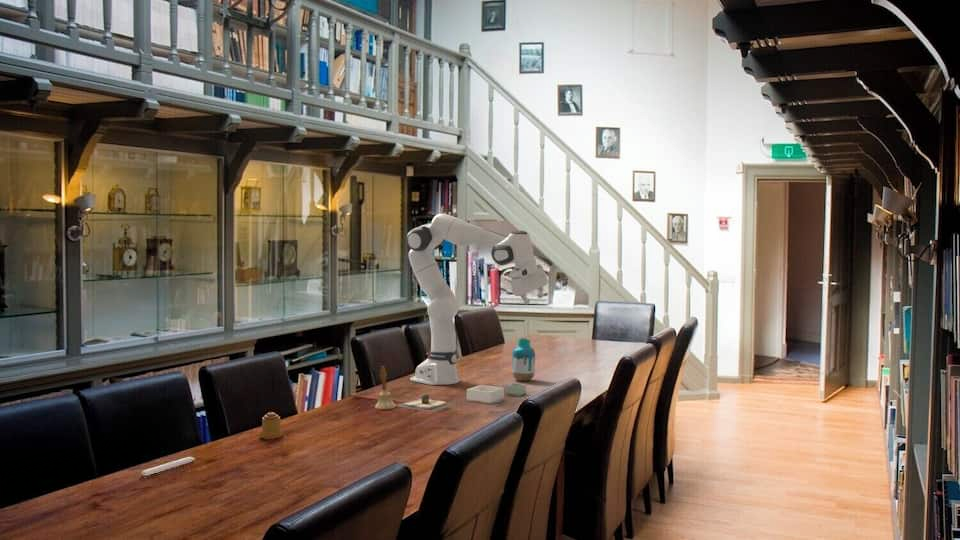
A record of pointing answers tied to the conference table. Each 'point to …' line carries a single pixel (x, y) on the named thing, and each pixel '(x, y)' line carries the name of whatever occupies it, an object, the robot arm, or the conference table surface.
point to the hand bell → (384, 393)
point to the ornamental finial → (271, 426)
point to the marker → (167, 466)
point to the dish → (485, 394)
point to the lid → (425, 403)
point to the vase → (523, 360)
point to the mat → (425, 409)
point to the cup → (515, 389)
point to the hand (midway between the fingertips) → (534, 300)
